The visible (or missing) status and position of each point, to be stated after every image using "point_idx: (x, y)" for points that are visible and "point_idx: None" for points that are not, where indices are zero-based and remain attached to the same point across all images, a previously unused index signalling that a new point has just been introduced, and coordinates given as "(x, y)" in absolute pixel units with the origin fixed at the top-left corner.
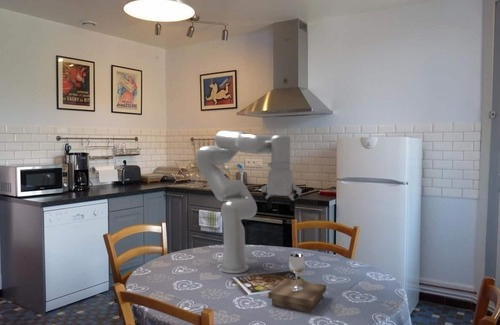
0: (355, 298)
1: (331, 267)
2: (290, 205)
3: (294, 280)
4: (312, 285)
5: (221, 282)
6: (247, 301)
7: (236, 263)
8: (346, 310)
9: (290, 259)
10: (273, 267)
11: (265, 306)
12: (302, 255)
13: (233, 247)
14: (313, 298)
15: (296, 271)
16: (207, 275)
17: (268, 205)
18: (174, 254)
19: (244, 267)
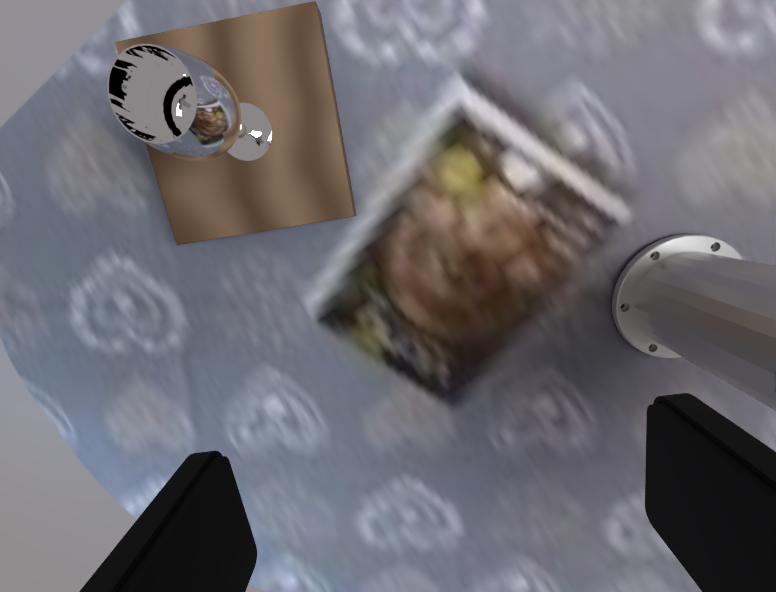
0: (122, 288)
1: (343, 512)
2: (154, 522)
3: (308, 216)
4: (215, 207)
5: (640, 122)
6: (418, 4)
7: (672, 274)
8: (86, 170)
9: (183, 53)
10: (533, 404)
11: (328, 8)
12: (138, 136)
13: (760, 283)
14: None
15: (179, 75)
16: (751, 157)
17: (711, 431)
18: None
19: (634, 314)
